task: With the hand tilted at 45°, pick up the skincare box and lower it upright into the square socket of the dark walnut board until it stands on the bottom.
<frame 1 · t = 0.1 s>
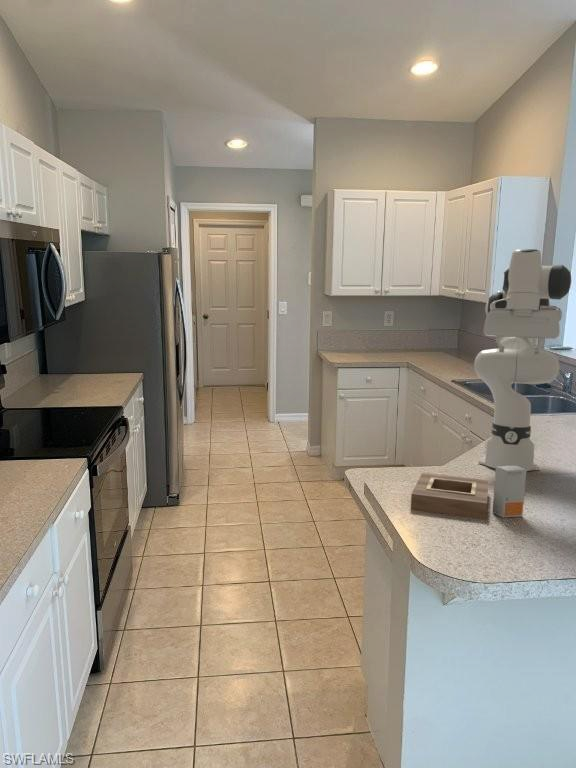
hand: (518, 353, 166), 39 cm above the counter, tool pointing down, fingers open, 8 cm apart
walnut socket board: (450, 501, 153), on the counter
skincare box: (507, 515, 143), on the counter
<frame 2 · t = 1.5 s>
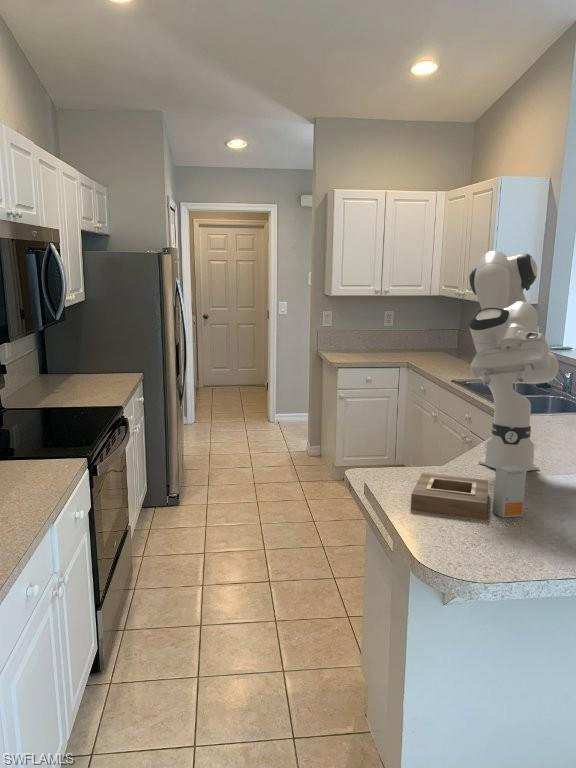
hand: (503, 381, 150), 32 cm above the counter, tool tilted 50°, fingers open, 8 cm apart
nothing on the counter moved.
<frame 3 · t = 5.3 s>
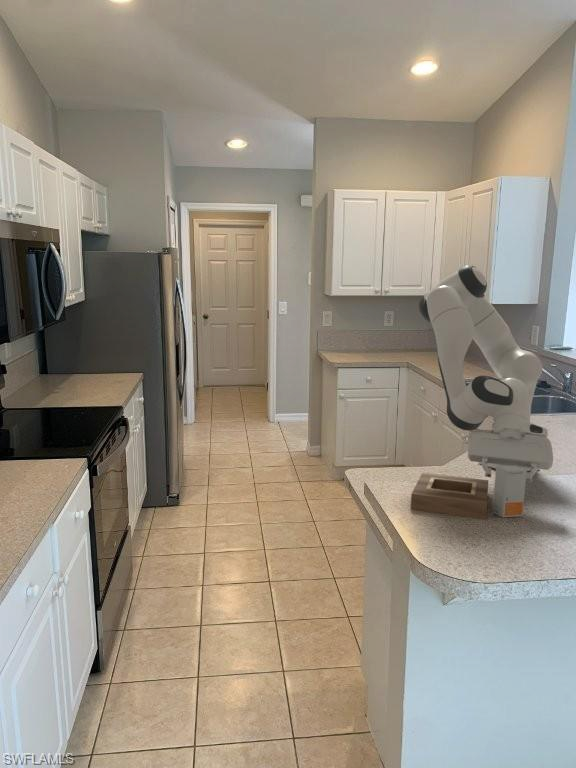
hand: (508, 478, 143), 9 cm above the counter, tool tilted 45°, fingers open, 8 cm apart
skincare box: (507, 515, 143), on the counter, touching gripper
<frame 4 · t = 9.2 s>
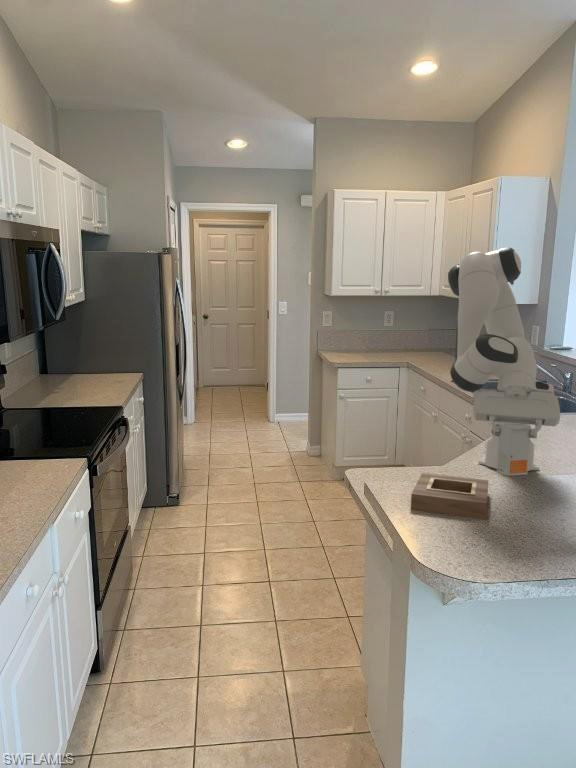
hand: (514, 435, 140), 20 cm above the counter, tool tilted 45°, fingers closed on skincare box, 7 cm apart
skincare box: (512, 474, 142), point 10 cm above the counter, touching gripper
when the fingers open (14 cm above the counter, at t = 12.3 s): skincare box drops 2 cm, resting in walnut socket board.
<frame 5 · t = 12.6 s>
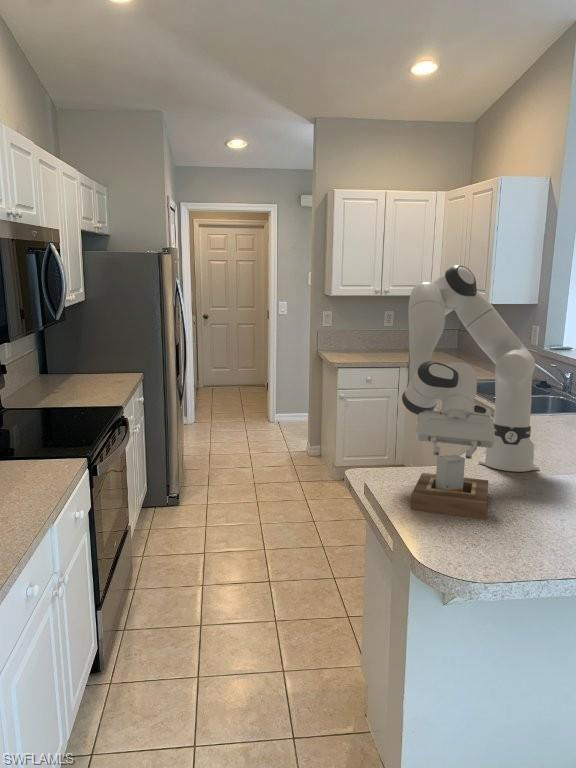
hand: (452, 455, 151), 12 cm above the counter, tool tilted 45°, fingers open, 7 cm apart
skincare box: (448, 501, 153), resting in walnut socket board, touching gripper
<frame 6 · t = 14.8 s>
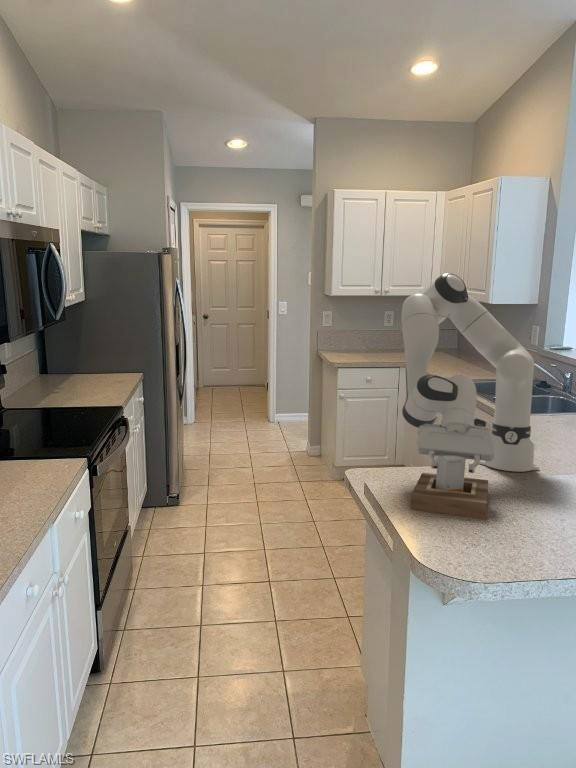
hand: (452, 469, 151), 9 cm above the counter, tool tilted 45°, fingers open, 8 cm apart
skincare box: (448, 501, 153), resting in walnut socket board
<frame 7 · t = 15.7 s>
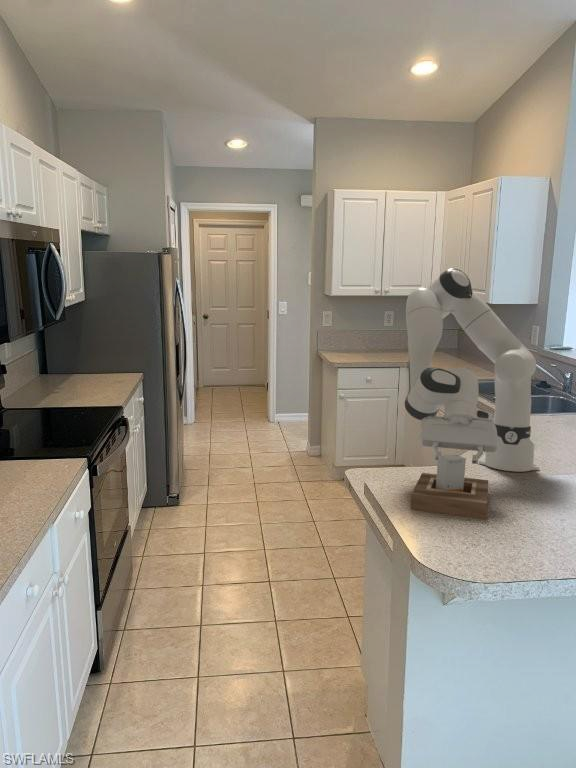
hand: (456, 460, 153), 11 cm above the counter, tool tilted 45°, fingers open, 8 cm apart
nothing on the counter moved.
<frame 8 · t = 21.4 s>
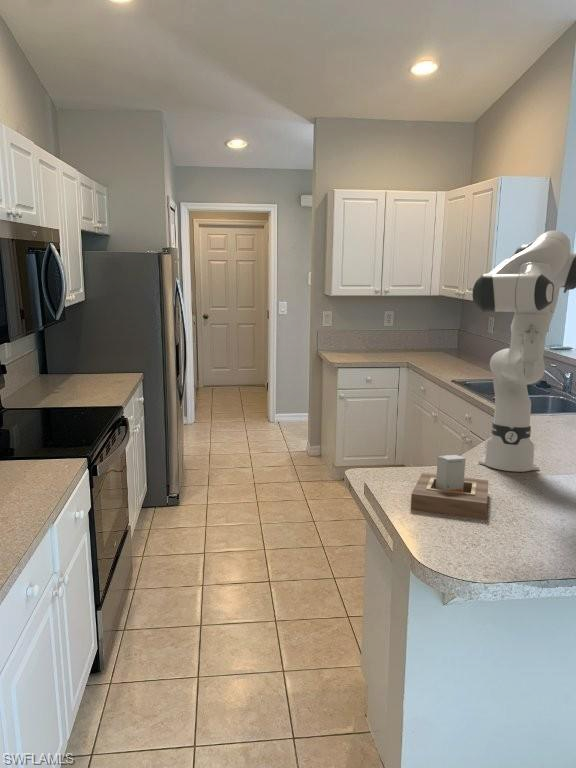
hand: (527, 376, 155), 33 cm above the counter, tool pointing down, fingers open, 8 cm apart
nothing on the counter moved.
at the end: skincare box 0.5 cm off-centre on the walnut socket board, point 0.0 cm above the walnut socket board's base; skincare box tilted 0°; the gripper is holding nothing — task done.
